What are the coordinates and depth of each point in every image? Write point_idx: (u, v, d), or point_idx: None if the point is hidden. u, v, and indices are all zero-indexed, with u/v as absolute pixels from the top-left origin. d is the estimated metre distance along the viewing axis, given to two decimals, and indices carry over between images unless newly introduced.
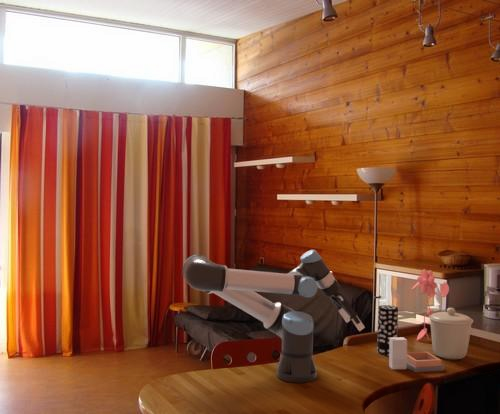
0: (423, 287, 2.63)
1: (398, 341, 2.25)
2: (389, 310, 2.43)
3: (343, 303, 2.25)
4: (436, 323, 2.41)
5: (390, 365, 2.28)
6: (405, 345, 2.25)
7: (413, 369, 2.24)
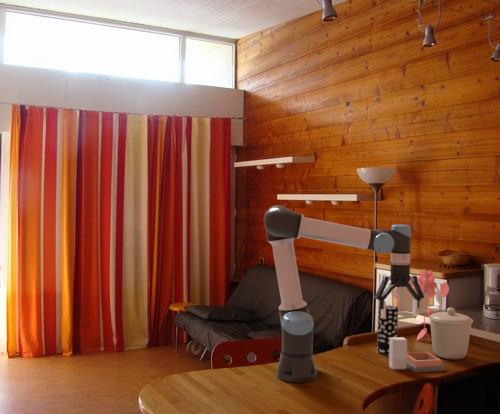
0: (423, 287, 2.63)
1: (398, 341, 2.25)
2: (389, 310, 2.43)
3: (382, 282, 2.25)
4: (436, 323, 2.41)
5: (390, 364, 2.28)
6: (405, 345, 2.25)
7: (413, 369, 2.24)
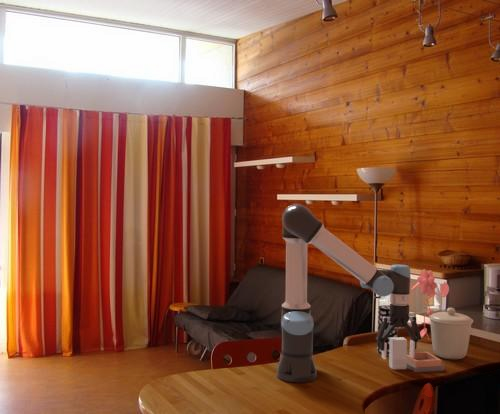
0: (423, 287, 2.63)
1: (398, 341, 2.25)
2: (389, 310, 2.43)
3: (381, 323, 2.26)
4: (436, 323, 2.41)
5: (390, 365, 2.28)
6: (405, 345, 2.25)
7: (413, 369, 2.24)
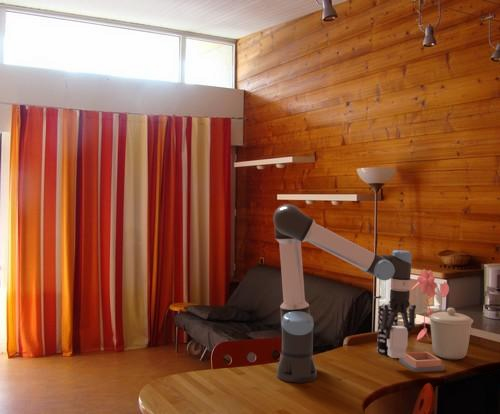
0: (423, 287, 2.63)
1: (398, 329, 2.25)
2: (389, 310, 2.43)
3: (383, 311, 2.26)
4: (436, 323, 2.41)
5: (389, 353, 2.28)
6: (405, 334, 2.25)
7: (413, 369, 2.24)
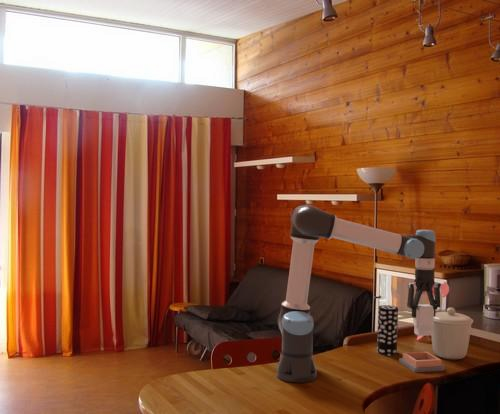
0: None
1: (424, 307, 2.28)
2: (389, 310, 2.43)
3: (409, 290, 2.29)
4: (436, 323, 2.41)
5: (415, 331, 2.30)
6: (431, 311, 2.28)
7: (413, 369, 2.24)
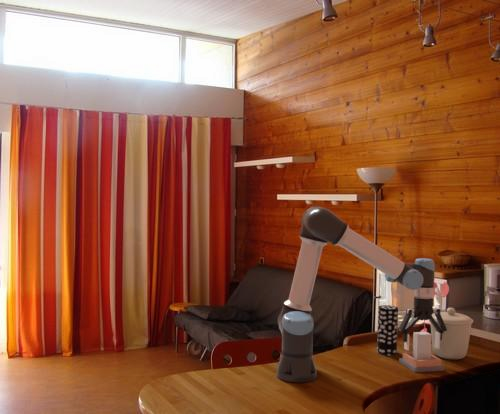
0: None
1: (423, 336, 2.28)
2: (389, 310, 2.43)
3: (405, 315, 2.29)
4: None
5: None
6: (429, 339, 2.29)
7: (413, 369, 2.24)
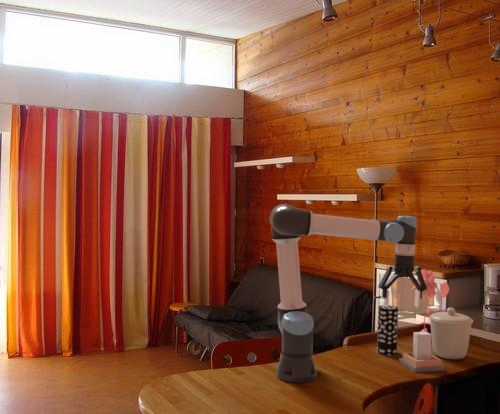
0: None
1: (423, 336, 2.28)
2: (389, 310, 2.43)
3: (386, 272, 2.28)
4: (436, 323, 2.41)
5: None
6: (429, 339, 2.29)
7: (413, 369, 2.24)
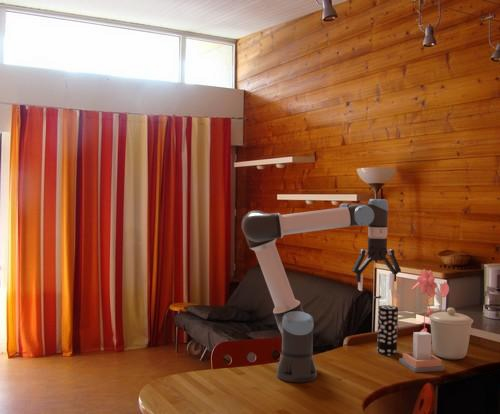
0: (423, 287, 2.63)
1: (423, 336, 2.28)
2: (389, 310, 2.43)
3: (359, 256, 2.28)
4: (436, 323, 2.41)
5: None
6: (429, 339, 2.29)
7: (413, 369, 2.24)
